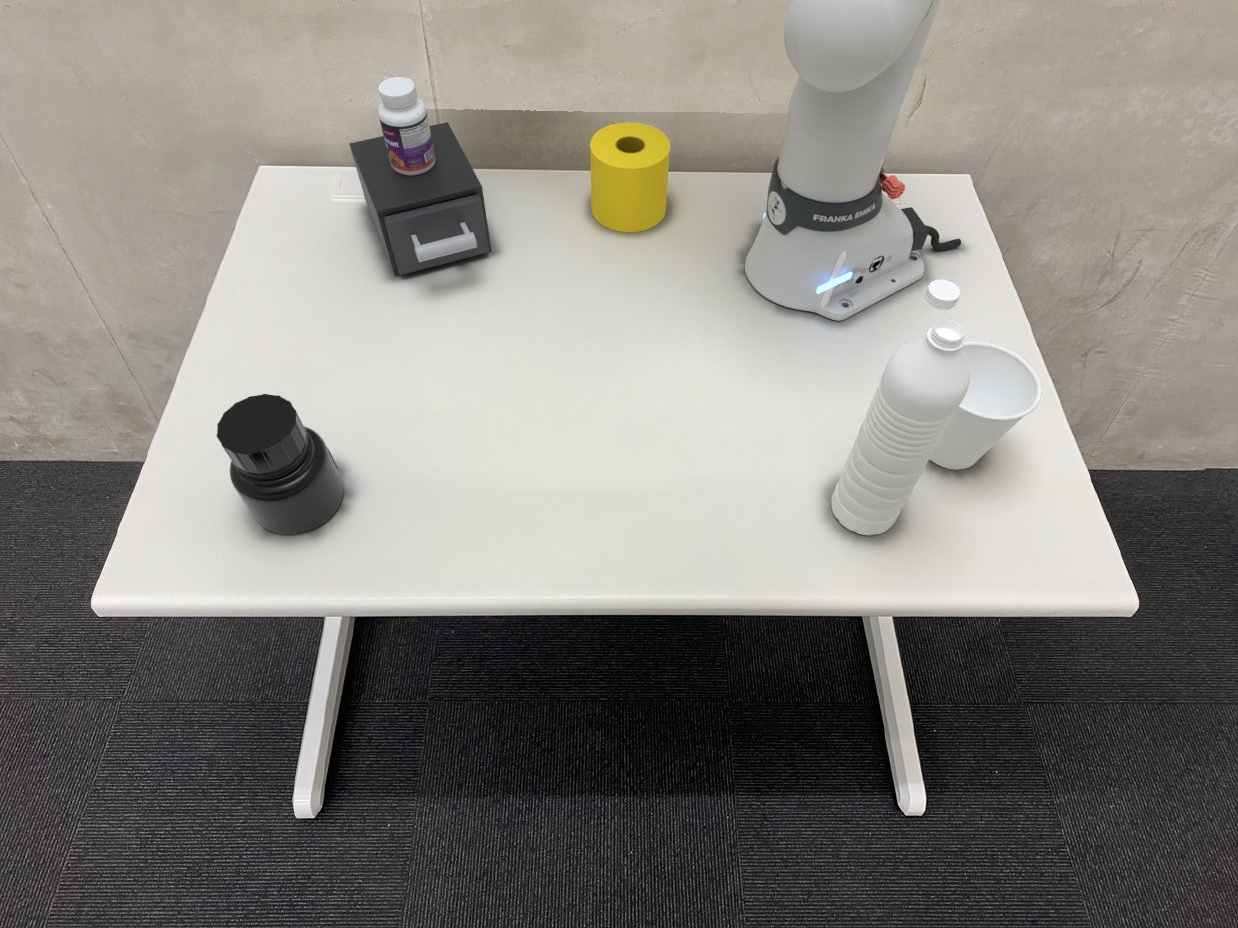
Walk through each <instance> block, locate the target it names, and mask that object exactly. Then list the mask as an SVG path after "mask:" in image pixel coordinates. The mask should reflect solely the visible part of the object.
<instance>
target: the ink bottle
mask: <svg viewBox="0 0 1238 928" xmlns="http://www.w3.org/2000/svg"><path fill="white" fill-rule="evenodd" d="M216 425H217V430H216V438H217V440H218V441H219V443H220V444H221V447H222V448H223V450H224V451H225V453H226V455H227V456H228V457H229V460H230V463H229V477H230V481H231V484H232V486H233V488H234V489H235V491H236V493H237V494H238V495H239V498H241V500H242V501H243V503H244V504H245V506H246V507H247V509H248V510H249V512H250V513H251V515H252V516H253V518H254V519H255V520H256V522H257V523H258V524H259V525H260V526H261V527H262V528H264V529H266V530H268V531H270V532H272V533H276V534H283V535H284V534H285V535H287V534H288V535H291V534H299V533H304V532H307V531H310V530H313V529H315V528H317V527H319V526H321V525H323V524H324V523H326V522H327V521H328V520H330V518H332V516H333V515H334V514H335V513H336V511H337V510H338V508H339V506H340V504H341V502H342V499H343V496H344V495H343V494H344V483H343V479H342V476H341V474H340V470H339V467H338V465H337V464H336V461H335V459H334V457H333V455H332V452H331V450H330V449H329V448H328V446H327V445H326V443H325V441H324V439H323V437H321V435H320V434H319V433H317V432H316V431H315V430H314V429H312V428H310V427H308V426H305V425H304V424H303V422H302V419H301V417H300V416H299V413H298V412H297V410H296V409H295V408H294V406H293V404H292V402H291V401H290V400H287V399H286V398H284V397H282V396H281V395H275V394H268V393H263V394H256V395H250V396H247V397H246V398H244V399H242V400H240V401H237V402H235V403H234V404H233V405H231V406H230V407H229V408H228V409H227V410H225V411H224V412H223V413H222V415H221V417H220V419H219V421H218V422H217V424H216Z"/></svg>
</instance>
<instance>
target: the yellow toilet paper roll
mask: <svg viewBox="0 0 1238 928" xmlns="http://www.w3.org/2000/svg"><path fill="white" fill-rule="evenodd" d="M589 143H590V144H589V148H590V152H589V153H590V155H589V156H590V200H591V204H590V206H591V207H590V208H591V209H590V210H591V214H592V216H593V218H594V219H595V220H596V222H598V224H600V225H601V226H603V227H604V228H607V229H609V230H612V231H615V232H620V233H639V232H645V231H647V230H649V229H652V228H654V227H655V226H657V225H659V223H661V222H662V221H663V219H664V218H665V216H666V211H667V201H668V200H667V197H668V195H667V194H668V184H669V171H670V170H669V169H670V157H671V156H670V155H671V142H670V139H669V138H668V136H667V135H666V134H665V133H664V132H663V131H662V130H660V129H658V128H657V127H655V126H652V125H649V124H646V123H640V122H627V121H626V122H617V123H614V124H609V125H607V126H605V127H602V128H600V129H598V131H596V132H595V134H593V136H592V138H591V139H590V142H589Z"/></svg>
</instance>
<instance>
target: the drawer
mask: <svg viewBox="0 0 1238 928" xmlns="http://www.w3.org/2000/svg"><path fill="white" fill-rule="evenodd" d="M384 221H385V225H386V228H387V232H388V236H389V239H390V243H391V247H392V250H393V254H394V257H395V261H396V265H397V268H398V271H399V274H400V275H399V276H403V275H406V274H410V273H414V272H419V271H422V270H427V269H429V268H433V267H437V266H440V265H445V264H448V263H453V262H456V261H460V260H464V259H467V258H468V259H469V258H472V257H475V256H479V255H483V254H486V253H489V252H490V251H489V249H488V242H487V235H486V229H485V222H484V216H483V209H482V202H481V199H480V197H479V195H478V194H476V195H472V196H470V195H466V196H462V197H458V198H454V199H450V200H446V201H442V202H438V203H433V204H429V205H425V206H421V207H417V208H413V209H409V210H404V211H400V212H396V213H392V214H388V215H385V217H384Z"/></svg>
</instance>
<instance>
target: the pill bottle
mask: <svg viewBox="0 0 1238 928" xmlns="http://www.w3.org/2000/svg"><path fill="white" fill-rule="evenodd" d="M378 93H379V99H380V100H381V102H380V104H379V106H378V109H377V114H378V120H379V123H380V128H381V131H382V136H384V140H385V144H386V148H387V152H388V156H389V160H390V163H391V166H392V168H393V169H394V170H395V171H396V172H398V173H400V174H403V175H419V174H422V173H425V172H427V171H429V170H430V169H431V168H432V167H433V166H434V164H435V153H434V148H433V143H432V137H431V132H430V127H429V126H430V121H429V118H428V117H429V116H428V112H427V109H426V104H425V102H424V101H422V100H421V98H419V97H418V92H417V89H416V85H415V82H414V81H413V80H412V79H410V78H408V77H406V76H405V77H403V76H396V77H395V76H393V77H389V78H386V79H385V80H383V81H381V82H380V83H379V86H378Z"/></svg>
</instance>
